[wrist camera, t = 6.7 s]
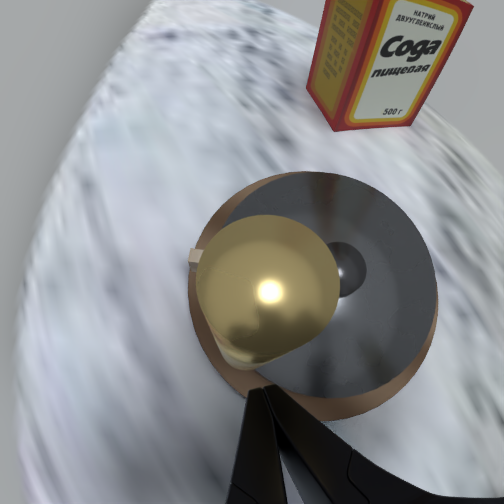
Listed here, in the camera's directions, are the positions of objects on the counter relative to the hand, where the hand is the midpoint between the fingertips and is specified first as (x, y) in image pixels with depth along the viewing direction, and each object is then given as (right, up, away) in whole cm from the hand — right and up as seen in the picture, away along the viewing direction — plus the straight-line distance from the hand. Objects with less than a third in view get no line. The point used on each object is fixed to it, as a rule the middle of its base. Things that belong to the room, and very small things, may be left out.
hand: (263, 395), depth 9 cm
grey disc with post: (+4, +2, +10) cm, 11 cm away
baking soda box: (+11, +19, +20) cm, 29 cm away
